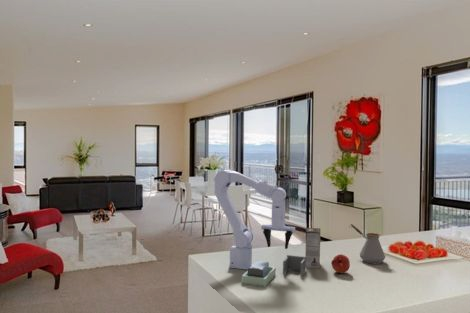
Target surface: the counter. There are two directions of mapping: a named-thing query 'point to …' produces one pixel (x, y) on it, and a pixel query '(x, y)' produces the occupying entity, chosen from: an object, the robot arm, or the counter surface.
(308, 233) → the coffee box
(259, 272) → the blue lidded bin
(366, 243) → the coffee pot
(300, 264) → the printer bay
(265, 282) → the tray
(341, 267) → the fruit
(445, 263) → the counter surface
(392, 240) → the counter surface
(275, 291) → the counter surface
